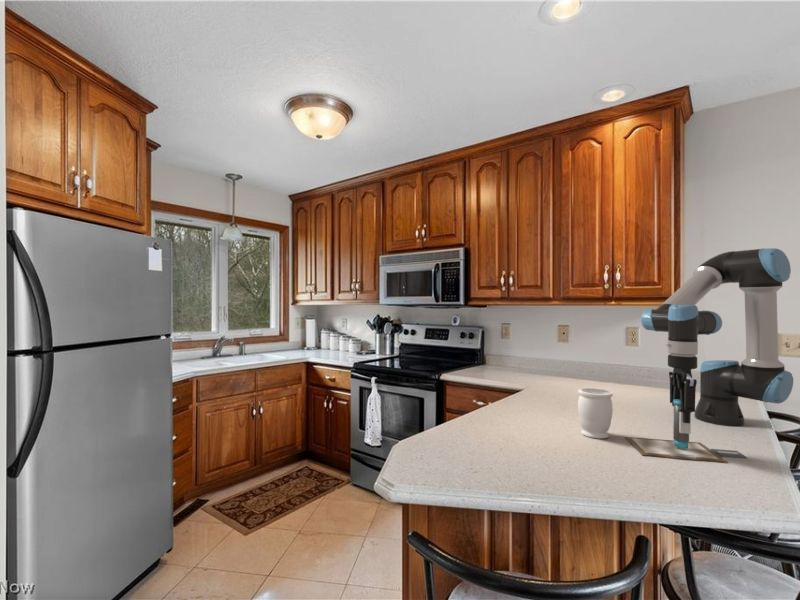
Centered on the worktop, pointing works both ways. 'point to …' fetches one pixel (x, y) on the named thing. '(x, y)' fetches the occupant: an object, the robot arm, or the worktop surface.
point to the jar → (595, 412)
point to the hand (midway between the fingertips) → (681, 430)
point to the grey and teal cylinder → (679, 438)
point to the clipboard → (674, 450)
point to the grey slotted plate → (728, 453)
